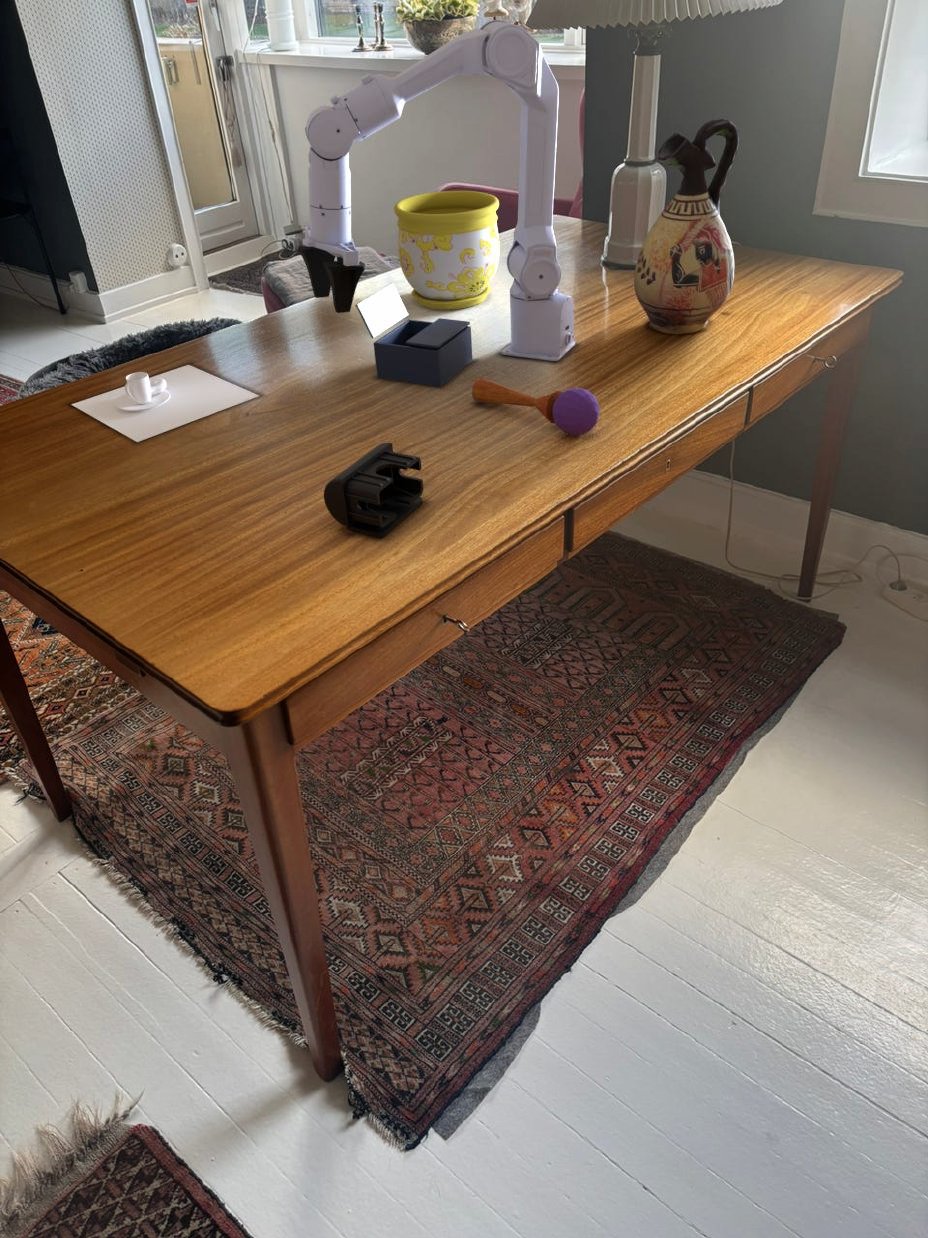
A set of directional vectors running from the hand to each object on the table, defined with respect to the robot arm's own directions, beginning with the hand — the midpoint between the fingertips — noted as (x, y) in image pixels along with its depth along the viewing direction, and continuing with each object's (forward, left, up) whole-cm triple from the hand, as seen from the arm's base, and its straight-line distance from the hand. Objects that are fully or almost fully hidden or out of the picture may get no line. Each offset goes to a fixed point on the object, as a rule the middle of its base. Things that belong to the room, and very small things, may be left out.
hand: (332, 304), depth 138 cm
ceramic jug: (-44, -36, -11) cm, 57 cm away
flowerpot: (-1, -37, -11) cm, 39 cm away
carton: (-12, -5, -10) cm, 17 cm away
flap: (-6, -5, -2) cm, 8 cm away
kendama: (-35, +6, -11) cm, 37 cm away
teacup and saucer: (+19, +18, -11) cm, 29 cm away
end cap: (-28, +36, -11) cm, 47 cm away
